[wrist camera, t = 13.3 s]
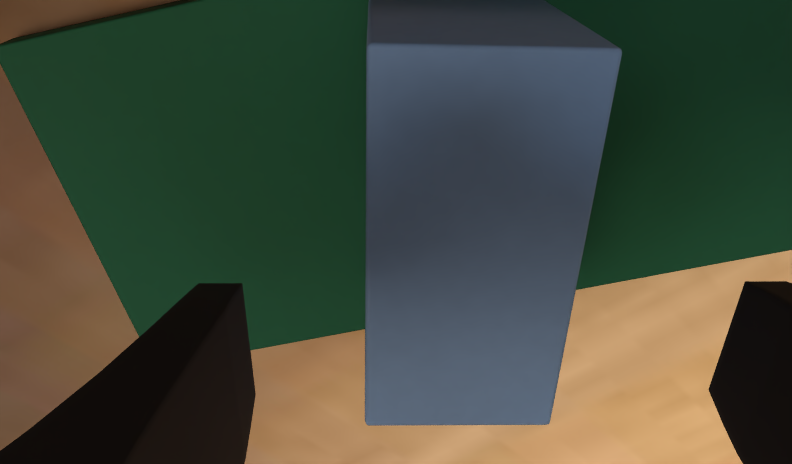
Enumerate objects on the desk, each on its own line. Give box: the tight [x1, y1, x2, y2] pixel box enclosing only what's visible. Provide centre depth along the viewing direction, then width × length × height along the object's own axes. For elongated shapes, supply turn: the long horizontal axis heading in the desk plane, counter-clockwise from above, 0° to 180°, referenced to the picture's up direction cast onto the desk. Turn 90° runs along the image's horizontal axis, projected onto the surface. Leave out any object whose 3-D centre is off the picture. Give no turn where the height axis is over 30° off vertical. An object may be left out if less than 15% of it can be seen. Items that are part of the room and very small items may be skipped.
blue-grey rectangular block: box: [365, 0, 622, 425], centre depth 14 cm, size 4×8×6 cm, turn 179°
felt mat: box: [0, 0, 792, 350], centre depth 17 cm, size 20×10×1 cm, turn 102°
